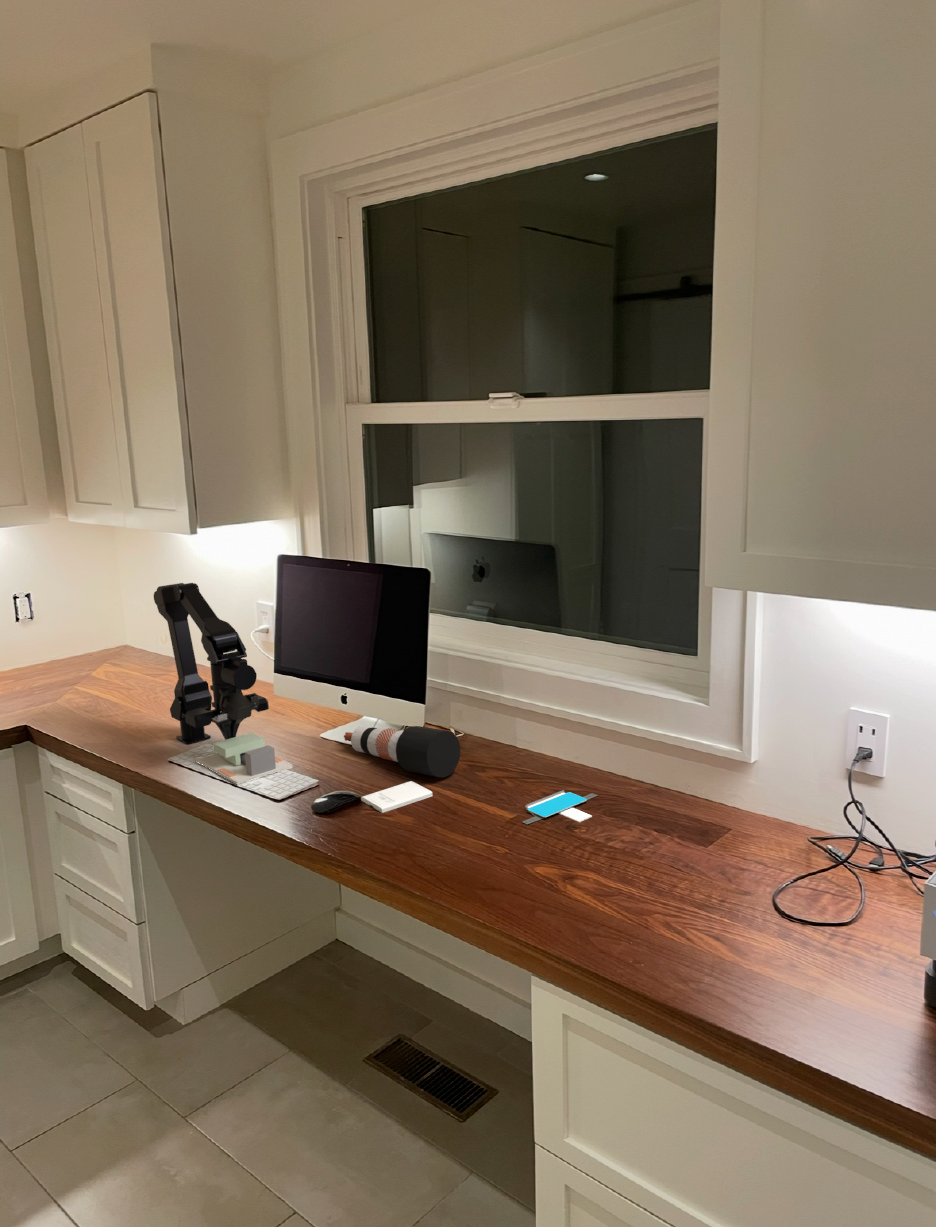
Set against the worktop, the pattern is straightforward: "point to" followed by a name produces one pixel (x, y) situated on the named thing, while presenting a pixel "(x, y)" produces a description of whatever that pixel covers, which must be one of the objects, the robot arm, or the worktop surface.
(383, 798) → the external hard drive
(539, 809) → the phone stand
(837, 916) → the worktop surface
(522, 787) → the worktop surface
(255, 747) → the green block
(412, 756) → the banded black grey cylinder
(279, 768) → the board
